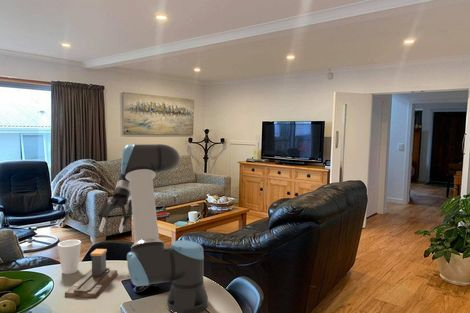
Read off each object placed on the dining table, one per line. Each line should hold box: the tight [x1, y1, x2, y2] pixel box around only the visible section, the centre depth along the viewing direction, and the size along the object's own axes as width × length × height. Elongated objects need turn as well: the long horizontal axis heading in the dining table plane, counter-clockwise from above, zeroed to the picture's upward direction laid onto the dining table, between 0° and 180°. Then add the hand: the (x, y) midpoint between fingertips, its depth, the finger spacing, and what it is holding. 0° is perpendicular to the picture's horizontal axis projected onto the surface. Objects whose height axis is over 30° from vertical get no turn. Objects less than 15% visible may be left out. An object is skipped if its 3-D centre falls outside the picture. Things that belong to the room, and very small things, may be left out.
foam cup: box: [57, 239, 82, 275], centre depth 155 cm, size 10×9×13 cm
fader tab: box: [90, 248, 108, 276], centre depth 148 cm, size 5×6×10 cm
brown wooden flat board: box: [64, 267, 118, 298], centre depth 142 cm, size 12×22×2 cm, turn 178°
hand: (110, 231), depth 160 cm, fingers open, 9 cm apart
